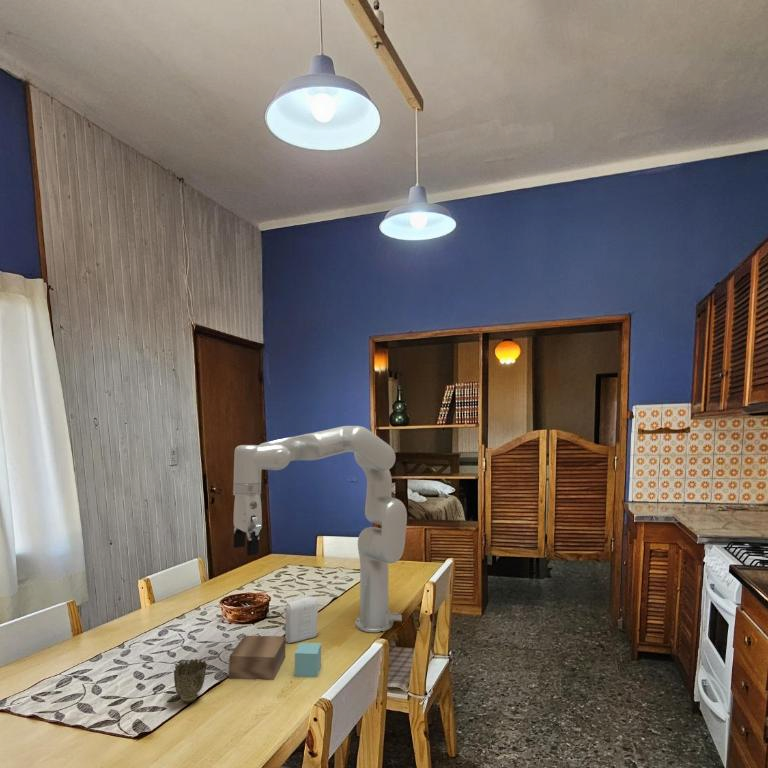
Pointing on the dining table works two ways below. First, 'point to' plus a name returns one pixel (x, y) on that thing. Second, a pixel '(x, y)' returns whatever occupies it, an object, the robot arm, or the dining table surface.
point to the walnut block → (257, 657)
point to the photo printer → (301, 619)
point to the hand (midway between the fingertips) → (245, 550)
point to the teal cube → (307, 660)
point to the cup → (189, 679)
